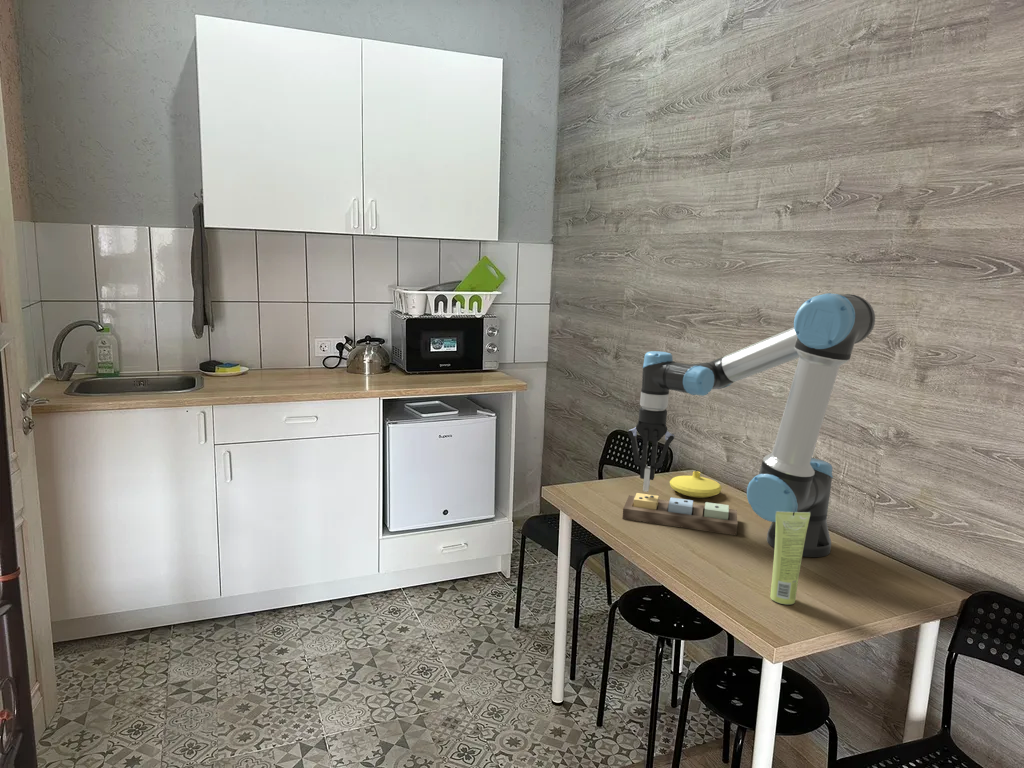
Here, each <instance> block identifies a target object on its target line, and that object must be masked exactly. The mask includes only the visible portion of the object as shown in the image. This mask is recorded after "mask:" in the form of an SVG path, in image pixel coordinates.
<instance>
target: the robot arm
mask: <svg viewBox="0 0 1024 768" xmlns="http://www.w3.org/2000/svg"><path fill="white" fill-rule="evenodd" d="M875 313H876V312H875V310H874V308H873V306H872V305H871V303H870V302H869V301H867V300H866V299H865V298H863V297H861V296H859V295H856V294H848V293H847V294H843V293H831V292H829V293H828V292H827V293H823V294H818V295H815V296H812V297H810V298H809V299H807V300H805V301H804V302H803V303H802V304H801V306H800V307H799V308H798V309H797V311H796V313H795V315H794V319H793V327H791V328H789V329H786V330H784V331H781V332H779V333H777V334H773V335H772V336H770V337H767V338H765V339H762V340H760V341H758V342H755V343H753V344H751V345H748V346H745V347H744V348H741V349H739V350H735V351H733V352H731V353H729V354H726V355H724V356H721V357H719V358H717V359H714V360H711V361H709V362H697V363H690V364H689V363H681V362H676V361H674V360H673V355H672V354H673V353H670V352H666V351H658V350H657V351H655V350H651V351H646V352H645V354H644V357H643V359H644V360H643V366H642V375H641V377H642V381H641V390H640V400H639V405H640V407H639V409H638V421H637V424H636V426H635V427H634V428H630V429H629V430H628V431H627V435H628V437H629V439H630V443H631V448H632V449H631V450H632V455H633V461H634V465H635V466H638V467H640V472H639V473H640V474H639V478H640V479H642V480H643V485H642V492H645V493H649V491H650V483H651V481H654V479H655V476H656V475H655V472H656V469H660V468H662V466H663V464H664V461H665V459H666V455H667V453H668V450H669V446H670V444H671V443H672V442H673V441H674V440H675V434H674V433H671V432H670V431H668V426H667V419H668V418H667V417H668V416H667V415H668V410H667V409H668V408H669V398H670V396H669V395H670V391H674V392H675V391H676V392H680V393H684V394H690V395H691V396H701V397H703V396H704V397H705V396H706V395H707V396H708V394H709V393H710V392H711V391H712V390H720V389H725V388H726V387H729V386H731V385H732V384H733V383H735V382H739V381H741V380H744V379H746V378H748V377H751V376H754V375H757V374H760V373H762V372H765V371H768V370H769V369H772V368H775V367H777V366H781V365H784V364H786V363H789V362H792V361H794V360H797V359H798V360H797V364H796V367H795V371H794V375H793V378H792V382H791V385H790V388H789V392H788V396H787V399H786V403H785V405H784V406H785V407H784V409H783V414H782V417H781V420H780V423H779V427H778V429H777V430H778V431H777V433H776V437H775V441H774V444H773V447H772V452H771V453H769V454H767V455H766V454H765V456H764V457H763V458H762V461H761V465H760V469H759V473H758V474H757V475H755V476H754V477H752V479H751V480H750V481H749V483H748V485H747V488H746V498H747V501H748V502H747V503H748V504H749V506H750V507H751V509H752V510H753V512H754V513H755V514H756V515H757V516H759V518H761V519H763V520H764V521H768V522H771V524H770V526H769V528H768V530H767V536H766V542H767V543H768V545H770V546H771V547H772V548H773V549H775V530H776V511H779V512H810V519H809V523H808V527H807V532H806V537H805V543H804V548H803V554H802V558H803V557H804V558H821V557H826V556H828V555H830V554H831V548H832V540H831V536H830V531H829V526H828V523H827V519H828V512H829V511H828V510H829V503H830V495H831V488H832V481H833V478H834V476H833V466H832V464H831V463H829V462H828V461H825V460H822V459H818V458H814V457H813V455H814V453H815V448H816V445H817V442H818V438H819V436H820V431H821V429H822V427H823V421H824V419H825V416H826V413H827V409H828V406H829V402H830V399H831V395H832V392H833V390H834V387H835V386H834V385H835V383H836V379H837V378H838V377H837V375H838V373H839V369H840V367H841V366H842V365H844V364H846V363H848V362H849V361H850V359H851V357H852V354H853V350H854V346H855V344H859V343H860V342H863V341H864V340H865V339H867V338H868V336H869V335H870V334H871V333H872V332H873V330H874V328H875V324H876V314H875ZM637 434H639V436H640V438H641V439H642V448H641V450H642V451H641V459H640V452H639V446H638V439H637ZM663 437H664V439H665V442H664V445H663V448H662V451H661V454H660V456H659V459H658V461H657V453H658V442H659V441H660V440H661V439H662V438H663ZM649 441H650V442H651V454H650V455H651V456H650V466H648V465H647V461H648V447H649Z"/></svg>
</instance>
